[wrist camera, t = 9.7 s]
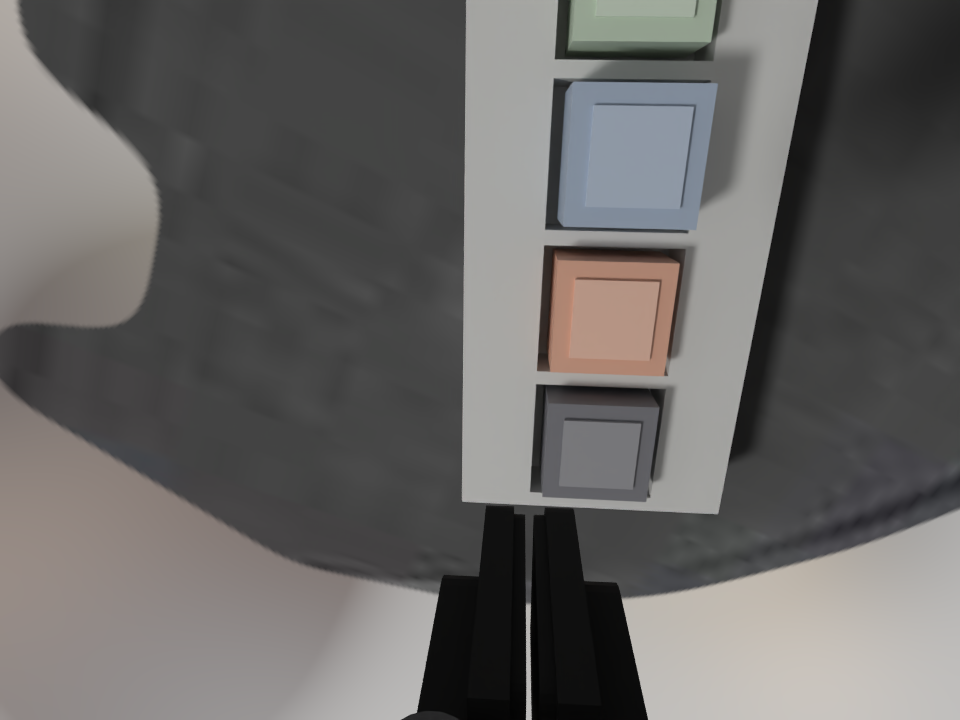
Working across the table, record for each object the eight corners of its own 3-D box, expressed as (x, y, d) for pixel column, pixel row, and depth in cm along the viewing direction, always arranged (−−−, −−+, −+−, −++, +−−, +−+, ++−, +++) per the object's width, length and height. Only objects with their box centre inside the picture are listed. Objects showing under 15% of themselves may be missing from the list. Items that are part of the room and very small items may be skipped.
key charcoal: (643, 380, 26) (660, 409, 23) (632, 466, 27) (646, 504, 24) (544, 377, 26) (548, 405, 23) (539, 462, 28) (542, 499, 25)
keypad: (799, -113, 20) (849, -161, 17) (696, 477, 29) (717, 514, 26) (474, -112, 21) (467, -158, 18) (467, 466, 29) (461, 501, 26)
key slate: (689, 93, 20) (719, 82, 18) (673, 221, 22) (697, 230, 19) (565, 92, 21) (573, 81, 18) (557, 218, 22) (564, 227, 19)
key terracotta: (660, 251, 24) (680, 264, 21) (647, 352, 25) (664, 378, 22) (552, 248, 24) (558, 260, 21) (546, 348, 26) (550, 373, 23)
